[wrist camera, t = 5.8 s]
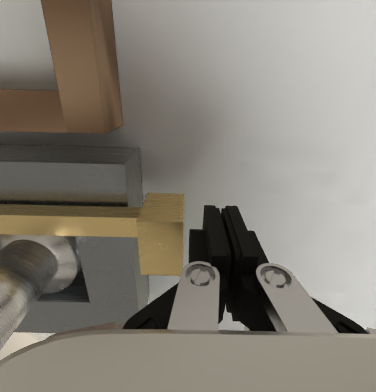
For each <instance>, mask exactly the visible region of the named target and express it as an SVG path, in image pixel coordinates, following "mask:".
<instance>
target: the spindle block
mask: <svg viewBox="0 0 376 392" xmlns="http://www.w3.org/2000/svg"><path fill="white" fill-rule="evenodd" d="M0 204H17V205H60V206H103V207H142V206H143V194H142V179H141V164H140V149H139V148H116V147H75V146H35V145H0ZM75 238H76V243H77V247H78V252H79V256H80V260H81V265H82V267H81V269H80V270H79V272H78V274H77V275H76V277H75V278H74V280H73V281H72V283H71V284H70V285H69V286H68V287H66V288H65V289H63V290H61V291H58V292H55V293H49V294H41V295H40V297H39V298H38V300H37V301H36V302H35V304H34V305H33V306H32V308H31V309H30V310H29V312H28V313H27V314H26V316H25V317H24V319H23V320H22V321H21V323H20V324H19V325H18V327H17V328H16V329H15V331H14V332H32V333H59V332H64V331H69V330H75V329H80V328H85V327H90V326H95V325H101V324H106V323H111V322H116V321H117V325H118V324H124V323H126V322H127V320H128V319H130V318H131V317H132V316H133V315H134V314H136V313H137V312H138V311H140V310H141V309H143V308H144V307H145V306H147V302H148V297H149V283H148V275H141V271H140V259H139V248H138V237H100V236H75Z"/></svg>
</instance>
